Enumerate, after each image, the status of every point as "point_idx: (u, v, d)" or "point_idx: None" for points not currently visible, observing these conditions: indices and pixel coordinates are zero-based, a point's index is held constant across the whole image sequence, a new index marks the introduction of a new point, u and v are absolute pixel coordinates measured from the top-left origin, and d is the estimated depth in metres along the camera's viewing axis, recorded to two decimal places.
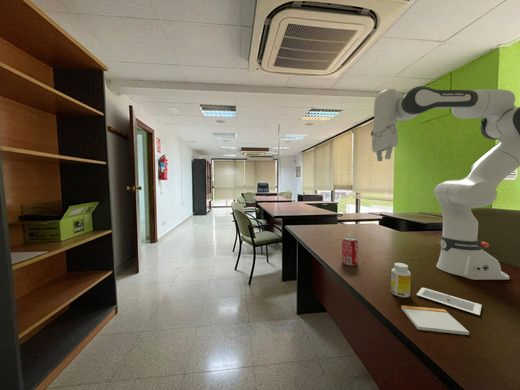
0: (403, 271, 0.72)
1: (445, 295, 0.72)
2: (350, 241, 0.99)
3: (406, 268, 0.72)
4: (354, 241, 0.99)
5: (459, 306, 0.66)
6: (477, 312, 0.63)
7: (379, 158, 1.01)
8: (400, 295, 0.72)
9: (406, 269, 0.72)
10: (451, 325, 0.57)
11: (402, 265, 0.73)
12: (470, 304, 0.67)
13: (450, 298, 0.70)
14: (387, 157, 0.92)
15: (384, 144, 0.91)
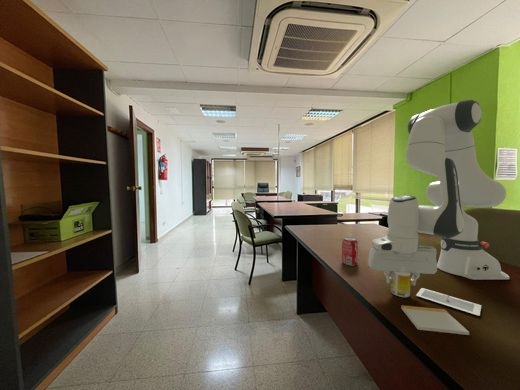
0: (403, 271, 0.72)
1: (445, 296, 0.72)
2: (350, 241, 0.99)
3: None
4: (354, 241, 0.99)
5: (459, 307, 0.66)
6: (477, 313, 0.63)
7: None
8: (400, 295, 0.72)
9: None
10: (451, 325, 0.57)
11: None
12: (470, 305, 0.67)
13: (450, 299, 0.70)
14: None
15: (425, 269, 0.71)
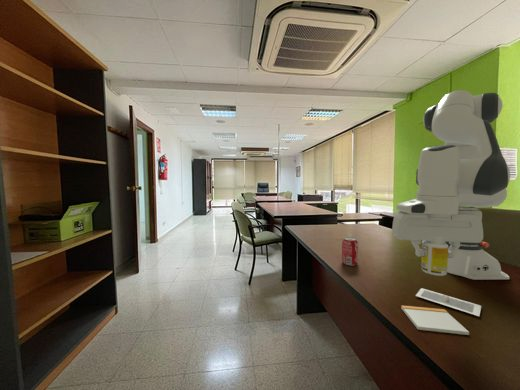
0: (439, 242, 0.57)
1: (444, 296, 0.72)
2: (350, 241, 0.99)
3: None
4: (354, 241, 0.99)
5: (459, 307, 0.66)
6: (476, 313, 0.62)
7: None
8: (435, 273, 0.57)
9: None
10: (451, 325, 0.57)
11: None
12: (470, 305, 0.66)
13: (449, 299, 0.70)
14: None
15: (467, 237, 0.56)
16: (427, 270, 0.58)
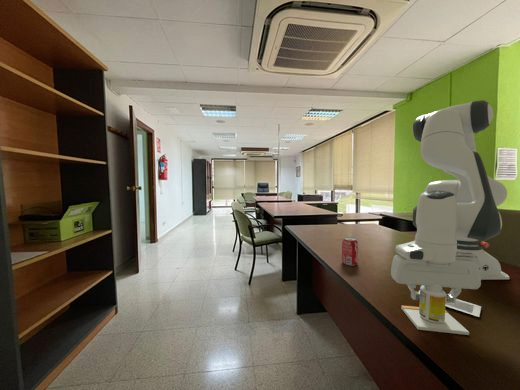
0: (436, 291, 0.58)
1: None
2: (350, 241, 0.99)
3: (440, 287, 0.58)
4: (354, 241, 0.99)
5: (459, 308, 0.65)
6: (476, 314, 0.62)
7: None
8: (432, 320, 0.58)
9: (440, 288, 0.58)
10: (451, 325, 0.57)
11: None
12: (470, 306, 0.66)
13: None
14: None
15: (465, 284, 0.56)
16: (425, 317, 0.59)
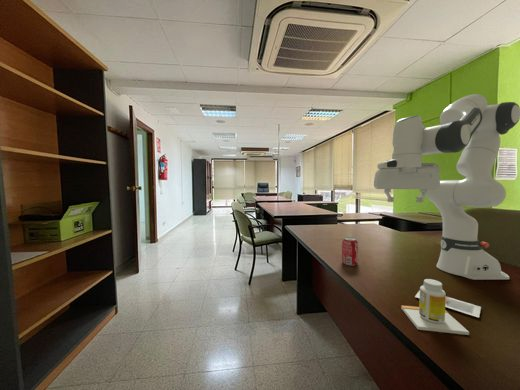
0: (436, 290, 0.58)
1: None
2: (350, 241, 0.99)
3: (440, 287, 0.58)
4: (354, 241, 0.99)
5: (458, 308, 0.65)
6: (476, 314, 0.62)
7: None
8: (432, 320, 0.58)
9: (440, 288, 0.58)
10: (451, 325, 0.57)
11: (434, 283, 0.59)
12: (469, 307, 0.66)
13: (449, 300, 0.69)
14: None
15: (428, 185, 0.75)
16: (425, 317, 0.59)
